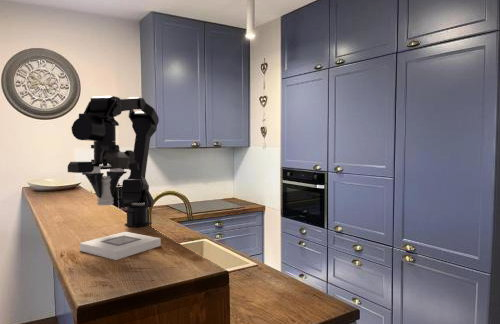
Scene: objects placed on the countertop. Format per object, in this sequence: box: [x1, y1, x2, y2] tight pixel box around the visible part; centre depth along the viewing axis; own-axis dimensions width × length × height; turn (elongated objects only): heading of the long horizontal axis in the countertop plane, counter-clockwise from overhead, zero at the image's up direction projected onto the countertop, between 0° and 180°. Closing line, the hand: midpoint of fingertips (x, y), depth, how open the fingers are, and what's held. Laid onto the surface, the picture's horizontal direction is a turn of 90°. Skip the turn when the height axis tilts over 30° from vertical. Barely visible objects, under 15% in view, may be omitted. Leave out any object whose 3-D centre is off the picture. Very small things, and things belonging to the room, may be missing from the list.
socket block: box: [79, 231, 162, 261], centre depth 91 cm, size 14×14×2 cm
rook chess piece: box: [96, 175, 115, 206], centre depth 99 cm, size 4×4×8 cm
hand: (105, 196), depth 99 cm, fingers closed on rook chess piece, 3 cm apart
